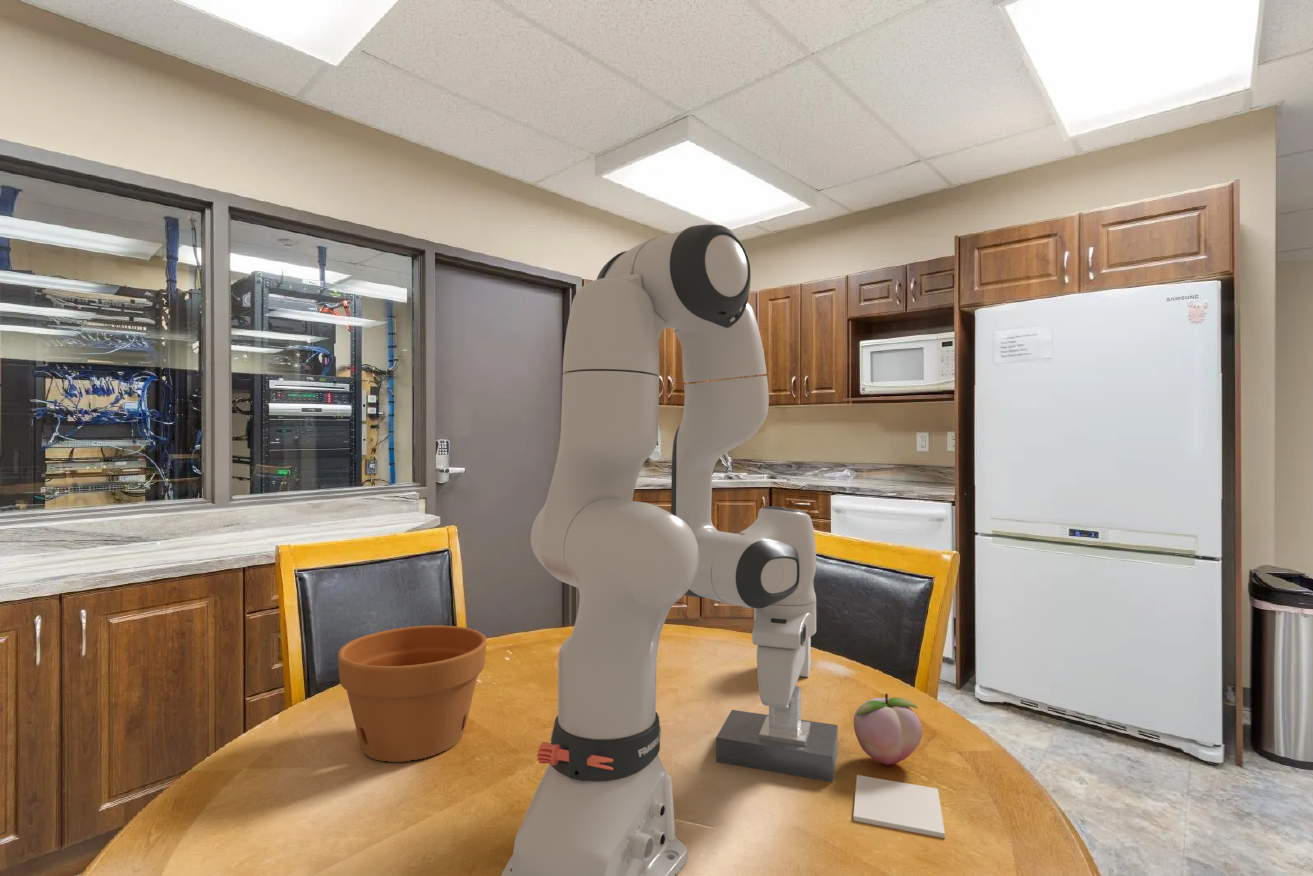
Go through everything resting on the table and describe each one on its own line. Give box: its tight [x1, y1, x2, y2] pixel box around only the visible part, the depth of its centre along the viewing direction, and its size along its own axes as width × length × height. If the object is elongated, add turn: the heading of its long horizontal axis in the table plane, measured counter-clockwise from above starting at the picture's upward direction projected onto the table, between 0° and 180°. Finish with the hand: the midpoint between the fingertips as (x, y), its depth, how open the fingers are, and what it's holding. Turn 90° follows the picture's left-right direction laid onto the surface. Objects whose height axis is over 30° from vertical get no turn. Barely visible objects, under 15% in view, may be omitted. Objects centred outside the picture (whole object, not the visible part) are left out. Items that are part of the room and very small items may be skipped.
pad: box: [852, 774, 946, 839], centre depth 79 cm, size 10×10×1 cm
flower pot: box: [337, 624, 487, 763], centre depth 96 cm, size 21×21×15 cm
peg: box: [759, 685, 810, 746], centre depth 91 cm, size 6×6×10 cm
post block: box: [715, 709, 839, 783], centre depth 92 cm, size 10×16×4 cm, turn 70°
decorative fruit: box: [853, 693, 923, 766], centre depth 89 cm, size 9×8×10 cm
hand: (785, 714), depth 91 cm, fingers closed on peg, 4 cm apart
